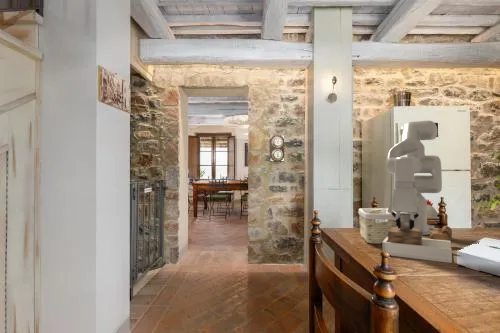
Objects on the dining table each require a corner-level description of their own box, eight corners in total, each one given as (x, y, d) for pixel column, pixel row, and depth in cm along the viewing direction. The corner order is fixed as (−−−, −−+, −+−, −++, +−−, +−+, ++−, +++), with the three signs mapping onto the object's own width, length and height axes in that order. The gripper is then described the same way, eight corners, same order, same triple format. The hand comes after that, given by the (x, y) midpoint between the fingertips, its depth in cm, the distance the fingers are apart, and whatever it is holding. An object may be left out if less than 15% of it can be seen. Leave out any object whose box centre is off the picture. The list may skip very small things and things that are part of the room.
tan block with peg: (387, 250, 133) (387, 214, 134) (391, 244, 144) (391, 211, 144) (421, 254, 127) (420, 216, 127) (422, 247, 138) (422, 212, 138)
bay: (382, 254, 132) (382, 242, 132) (388, 245, 147) (388, 234, 147) (452, 262, 120) (451, 249, 120) (450, 252, 134) (450, 240, 134)
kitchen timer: (410, 221, 211) (410, 199, 211) (428, 220, 214) (427, 198, 214) (426, 225, 198) (426, 201, 198) (445, 224, 201) (444, 200, 201)
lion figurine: (444, 243, 149) (443, 224, 149) (455, 246, 144) (455, 226, 145) (423, 247, 143) (423, 227, 143) (435, 250, 138) (434, 229, 138)
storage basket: (357, 234, 174) (357, 207, 174) (389, 234, 171) (388, 207, 171) (365, 244, 150) (364, 213, 150) (401, 245, 147) (401, 214, 147)
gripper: (427, 185, 135) (428, 228, 134) (384, 185, 143) (385, 225, 143) (426, 186, 128) (427, 232, 128) (382, 186, 137) (382, 228, 137)
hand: (405, 228), depth 136 cm, fingers closed on tan block with peg, 4 cm apart
